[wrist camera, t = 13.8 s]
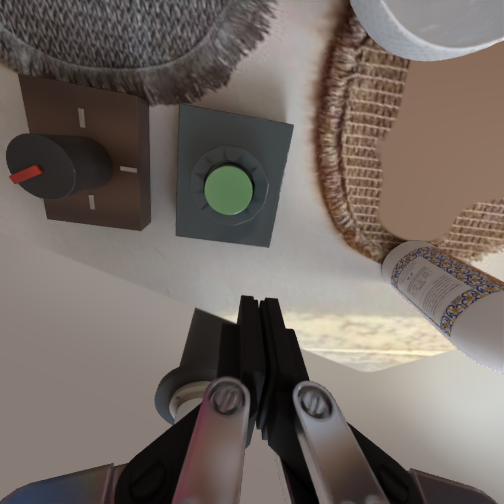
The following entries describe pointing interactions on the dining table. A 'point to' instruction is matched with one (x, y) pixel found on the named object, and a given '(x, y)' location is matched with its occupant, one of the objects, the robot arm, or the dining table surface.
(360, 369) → the dining table surface
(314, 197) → the dining table surface
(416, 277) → the bath foam
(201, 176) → the grey button housing
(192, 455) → the robot arm
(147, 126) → the lock base
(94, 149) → the dial
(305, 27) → the dining table surface
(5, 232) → the dining table surface
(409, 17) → the cereal bowl
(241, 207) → the green round button
